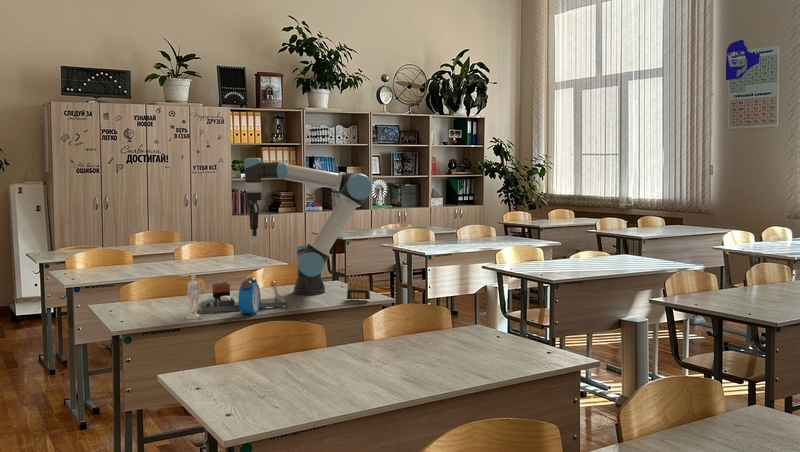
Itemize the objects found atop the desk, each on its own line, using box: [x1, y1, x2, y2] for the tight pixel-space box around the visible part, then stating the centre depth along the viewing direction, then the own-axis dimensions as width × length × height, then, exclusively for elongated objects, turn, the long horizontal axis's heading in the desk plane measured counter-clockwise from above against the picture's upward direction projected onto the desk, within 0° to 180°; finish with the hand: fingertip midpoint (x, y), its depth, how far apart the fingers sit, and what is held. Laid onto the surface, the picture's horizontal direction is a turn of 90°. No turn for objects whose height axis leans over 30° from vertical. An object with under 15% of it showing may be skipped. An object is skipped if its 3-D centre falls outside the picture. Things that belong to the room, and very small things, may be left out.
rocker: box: [199, 297, 216, 305], centre depth 317 cm, size 6×3×1 cm, turn 111°
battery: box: [212, 280, 231, 303], centre depth 332 cm, size 4×7×10 cm, turn 121°
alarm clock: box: [237, 277, 261, 315], centre depth 312 cm, size 13×6×15 cm, turn 176°
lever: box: [270, 280, 279, 299], centre depth 327 cm, size 3×3×8 cm
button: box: [220, 295, 231, 301], centre depth 320 cm, size 4×4×3 cm
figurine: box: [184, 274, 205, 320], centre depth 304 cm, size 8×7×18 cm
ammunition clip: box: [346, 274, 371, 300], centre depth 340 cm, size 11×2×12 cm, turn 76°
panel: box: [198, 293, 288, 314], centre depth 323 cm, size 37×9×5 cm, turn 111°
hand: (254, 242), depth 340 cm, fingers closed
